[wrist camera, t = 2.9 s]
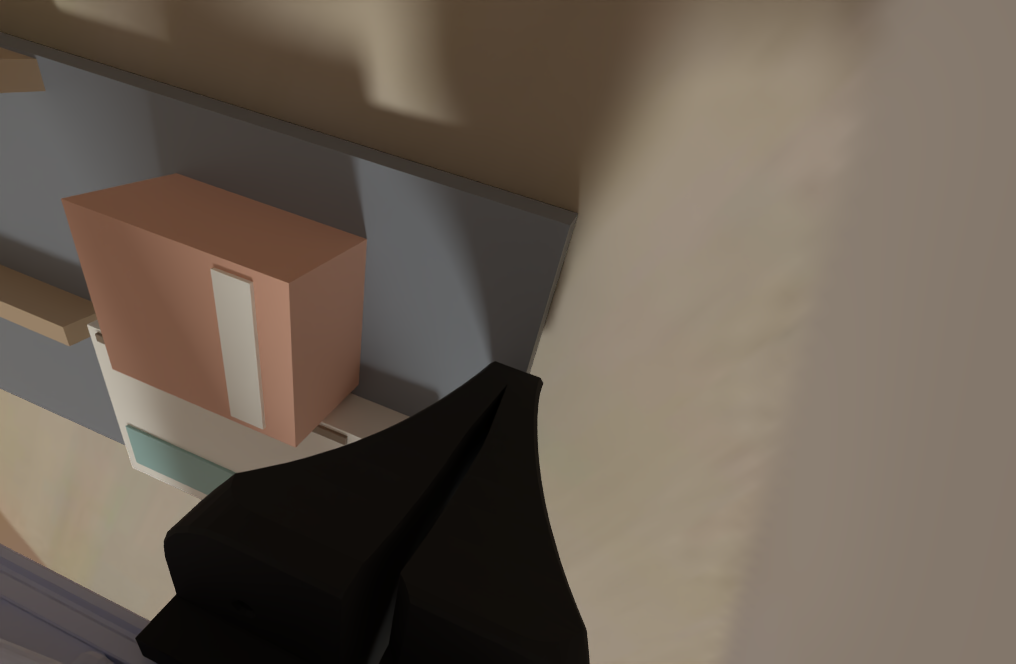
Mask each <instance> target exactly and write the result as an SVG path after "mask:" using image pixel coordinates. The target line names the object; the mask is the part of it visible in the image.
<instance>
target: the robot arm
mask: <svg viewBox="0 0 1016 664" xmlns="http://www.w3.org/2000/svg"><path fill="white" fill-rule="evenodd" d="M542 385H543V382H542V380H541V378H539V377H537V376H534V375H531V374H529V373H526V372H523V371H521V370H518V369H515V368H513V367H510V366H507V365H505V364H502V363H499V362H496V361H494V362H492V363H490V364H489V365H488V366H486V367H485V368H484V369H483V370H481V371H480V372H479V373H478V374H476V375H475V376H474V377H472V378H471V379H470V380H468V381H467V382H466V383H464V384H463V385H461V386H460V387H458V388H457V389H455V390H454V391H452V392H451V393H449V394H448V395H446V396H445V397H443V398H442V399H440V400H439V401H437V402H435V403H434V404H432V405H430V406H428V407H427V408H425V409H423V410H421V411H420V412H418V413H416V414H415V415H413V416H411V417H409V418H407V419H405V420H403V421H401V422H399V423H397V424H395V425H393V426H391V427H388V428H386V429H384V430H382V431H380V432H377V433H375V434H373V435H370V436H368V437H365V438H363V439H360V440H358V441H355V442H353V443H350V444H347V445H344V446H341V447H339V448H336V449H332V450H329V451H326V452H322V453H319V454H316V455H313V456H309V457H306V458H303V459H299V460H295V461H291V462H287V463H283V464H278V465H273V466H268V467H264V468H259V469H254V470H250V471H245V472H239V473H235V474H234V475H232V476H231V477H230V478H229V479H228V480H226V481H225V482H223V483H222V484H221V485H219V486H218V487H217V488H215V489H214V490H213V491H212V492H211V493H210V494H208V495H207V496H206V497H205V498H204V499H203V500H202V501H201V502H199V503H198V504H197V505H196V506H195V507H194V508H193V509H192V510H191V511H190V512H189V513H188V514H186V515H185V516H184V517H183V518H182V519H181V520H180V521H179V522H178V523H177V524H176V525H174V526H173V527H172V528H171V529H170V530H169V531H168V532H167V534H166V537H165V539H164V552H165V558H166V561H167V565H168V568H169V571H170V574H171V577H172V581H173V584H174V587H175V590H176V595H175V596H174V597H173V598H172V600H171V601H170V602H169V603H168V604H167V605H166V606H165V607H164V608H163V609H162V610H161V611H160V612H159V613H158V614H157V615H156V616H155V617H154V619H153V620H152V621H149V620H147V619H145V618H143V617H141V616H139V615H137V614H135V613H134V612H132V611H130V610H128V609H126V608H124V607H122V606H120V605H118V604H116V603H114V602H112V601H110V600H108V599H106V598H104V597H103V596H101V595H99V594H97V593H95V592H93V591H91V590H89V589H87V588H85V587H83V586H81V585H79V584H77V583H75V582H74V581H72V580H70V579H68V578H66V577H64V576H62V575H60V574H58V573H56V572H54V571H52V570H50V569H48V568H46V567H44V566H43V565H41V564H39V563H37V562H35V561H33V560H31V559H29V558H27V557H25V556H23V555H21V554H19V553H17V552H15V551H13V550H11V549H10V548H8V547H6V546H4V545H2V544H0V664H590V663H589V649H588V639H587V630H586V627H585V625H584V622H583V620H582V618H581V615H580V613H579V610H578V608H577V605H576V603H575V600H574V598H573V595H572V592H571V590H570V587H569V584H568V581H567V579H566V576H565V573H564V570H563V567H562V564H561V561H560V558H559V554H558V551H557V547H556V543H555V540H554V536H553V533H552V529H551V526H550V522H549V518H548V513H547V508H546V504H545V499H544V493H543V487H542V481H541V474H540V466H539V455H538V437H537V415H538V403H539V396H540V392H541V388H542Z"/></svg>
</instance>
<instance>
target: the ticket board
mask: <svg viewBox="0 0 1016 664" xmlns="http://www.w3.org/2000/svg"><path fill="white" fill-rule="evenodd" d="M175 173H177V174H180V175H183V176H186V177H189V178H192V179H195V180H198V181H200V182H203V183H206V184H209V185H212V186H215V187H218V188H221V189H224V190H226V191H229V192H232V193H235V194H238V195H241V196H244V197H247V198H250V199H252V200H255V201H258V202H261V203H264V204H267V205H270V206H273V207H276V208H278V209H281V210H284V211H287V212H290V213H293V214H296V215H299V216H302V217H304V218H307V219H310V220H313V221H316V222H319V223H322V224H325V225H328V226H331V227H333V228H336V229H339V230H342V231H345V232H348V233H351V234H354V235H357V236H359V237H362V238H365V239H367V248H366V266H365V283H364V301H363V319H362V337H361V355H360V372H359V385H358V386H357V387H356V388H355V389H354V390H353V391H352V392H351V393H350V394H349V395H348V396H347V397H346V398H345V399H344V400H343V401H342V402H341V403H340V404H339V405H338V406H337V407H336V408H335V409H334V410H333V411H332V412H331V413H330V414H329V415H328V416H327V417H326V418H325V419H324V420H323V421H322V422H321V423H320V424H319V425H318V426H317V427H316V428H315V429H314V430H313V431H312V432H311V433H310V434H309V435H308V436H307V437H306V438H305V439H304V440H303V441H302V442H301V443H300V444H299V445H298V446H297V447H296V448H295V447H293V446H291V445H288V444H286V443H284V442H281V441H279V440H277V439H274V438H272V437H270V436H267V435H265V434H263V433H260V432H258V431H256V430H253V429H251V428H249V427H246V426H244V425H241V424H239V423H237V422H234V421H232V420H230V419H227V418H225V417H223V416H220V415H218V414H216V413H213V412H211V411H209V410H206V409H204V408H202V407H199V406H197V405H195V404H192V403H190V402H188V401H185V400H183V399H181V398H178V397H176V396H174V395H171V394H169V393H167V392H164V391H162V390H160V389H157V388H155V387H153V386H150V385H148V384H146V383H143V382H141V381H139V380H136V379H134V378H132V377H129V376H127V375H125V374H122V373H120V372H118V371H115V370H113V369H112V366H111V363H110V360H109V356H108V353H107V350H106V346H105V343H104V340H103V337H102V333H101V330H100V327H99V323H98V320H97V317H96V313H95V310H94V307H93V303H92V300H91V297H90V293H89V290H88V287H87V284H86V280H85V277H84V274H83V270H82V267H81V264H80V260H79V257H78V254H77V250H76V247H75V244H74V241H73V237H72V234H71V231H70V227H69V224H68V221H67V217H66V214H65V211H64V207H63V204H62V201H61V198H66V197H70V196H75V195H79V194H84V193H89V192H93V191H98V190H102V189H107V188H111V187H116V186H120V185H125V184H130V183H134V182H139V181H143V180H148V179H152V178H157V177H161V176H166V175H171V174H175ZM577 216H578V213H575V212H572V211H568V210H565V209H562V208H559V207H556V206H552V205H549V204H546V203H543V202H540V201H537V200H533V199H530V198H527V197H524V196H521V195H518V194H514V193H511V192H508V191H505V190H502V189H498V188H495V187H492V186H489V185H486V184H483V183H479V182H476V181H473V180H470V179H467V178H463V177H460V176H457V175H454V174H451V173H448V172H444V171H441V170H438V169H435V168H432V167H428V166H425V165H422V164H419V163H416V162H413V161H409V160H406V159H403V158H400V157H397V156H393V155H390V154H387V153H384V152H381V151H378V150H374V149H371V148H368V147H365V146H362V145H358V144H355V143H352V142H349V141H346V140H343V139H339V138H336V137H333V136H330V135H327V134H323V133H320V132H317V131H314V130H311V129H308V128H304V127H301V126H298V125H295V124H292V123H288V122H285V121H282V120H279V119H276V118H273V117H269V116H266V115H263V114H260V113H257V112H253V111H250V110H247V109H244V108H241V107H238V106H234V105H231V104H228V103H225V102H222V101H218V100H215V99H212V98H209V97H206V96H203V95H199V94H196V93H193V92H190V91H187V90H183V89H180V88H177V87H174V86H171V85H168V84H164V83H161V82H158V81H155V80H152V79H148V78H145V77H142V76H139V75H136V74H133V73H129V72H126V71H123V70H120V69H117V68H113V67H110V66H107V65H104V64H101V63H98V62H94V61H91V60H88V59H85V58H82V57H78V56H75V55H72V54H69V53H66V52H63V51H59V50H56V49H53V48H50V47H47V46H43V45H40V44H37V43H34V42H31V41H28V40H24V39H21V38H18V37H15V36H12V35H8V34H5V33H2V32H0V389H3V390H5V391H7V392H9V393H11V394H14V395H16V396H18V397H20V398H22V399H25V400H27V401H29V402H31V403H33V404H36V405H38V406H40V407H42V408H44V409H47V410H49V411H51V412H53V413H55V414H58V415H60V416H62V417H64V418H66V419H69V420H71V421H73V422H75V423H77V424H80V425H82V426H84V427H86V428H88V429H91V430H93V431H95V432H97V433H99V434H102V435H104V436H106V437H108V438H110V439H113V440H115V441H117V442H119V443H121V444H123V445H125V446H126V449H127V452H128V455H129V458H130V462H131V465H132V468H134V469H136V470H138V471H141V472H143V473H145V474H147V475H149V476H151V477H154V478H156V479H158V480H160V481H162V482H164V483H166V484H169V485H171V486H173V487H175V488H177V489H179V490H182V491H184V492H186V493H188V494H190V495H192V496H195V497H197V498H199V499H201V500H203V499H204V498H205V497H206V496H207V495H208V494H210V493H211V492H212V491H213V490H214V489H215V488H217V487H218V486H219V485H221V484H222V483H223V482H225V481H226V480H228V479H229V478H230V477H231V476H232V475H234V474H235V473H239V472H245V471H250V470H254V469H259V468H264V467H268V466H273V465H278V464H283V463H287V462H291V461H295V460H299V459H303V458H306V457H309V456H313V455H316V454H319V453H322V452H326V451H329V450H332V449H336V448H339V447H341V446H344V445H347V444H350V443H353V442H355V441H358V440H360V439H363V438H365V437H368V436H370V435H373V434H375V433H377V432H380V431H382V430H384V429H386V428H388V427H391V426H393V425H395V424H397V423H399V422H401V421H403V420H405V419H407V418H409V417H411V416H413V415H415V414H416V413H418V412H420V411H421V410H423V409H425V408H427V407H428V406H430V405H432V404H434V403H435V402H437V401H439V400H440V399H442V398H443V397H445V396H446V395H448V394H449V393H451V392H452V391H454V390H455V389H457V388H458V387H460V386H461V385H463V384H464V383H466V382H467V381H468V380H470V379H471V378H472V377H474V376H475V375H476V374H478V373H479V372H480V371H481V370H483V369H484V368H485V367H486V366H488V365H489V364H490V363H492V362H494V361H496V362H499V363H502V364H505V365H507V366H510V367H513V368H515V369H518V370H521V371H523V372H526V373H529V374H530V370H531V367H532V364H533V361H534V357H535V354H536V351H537V347H538V344H539V341H540V338H541V334H542V331H543V328H544V324H545V321H546V318H547V315H548V311H549V308H550V305H551V301H552V298H553V295H554V292H555V288H556V285H557V282H558V278H559V275H560V272H561V269H562V265H563V262H564V259H565V255H566V252H567V249H568V246H569V242H570V239H571V236H572V232H573V229H574V226H575V223H576V219H577Z"/></svg>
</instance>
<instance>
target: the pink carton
mask: <svg viewBox="0 0 1016 664" xmlns="http://www.w3.org/2000/svg"><path fill="white" fill-rule="evenodd" d="M61 201H62V204H63V207H64V211H65V214H66V217H67V221H68V224H69V227H70V231H71V234H72V237H73V241H74V244H75V247H76V250H77V254H78V257H79V260H80V264H81V267H82V270H83V274H84V277H85V280H86V284H87V287H88V290H89V293H90V297H91V300H92V303H93V307H94V310H95V313H96V317H97V320H98V323H99V327H100V330H101V333H102V337H103V340H104V343H105V346H106V350H107V353H108V356H109V360H110V363H111V366H112V369H113V370H115V371H118V372H120V373H122V374H125V375H127V376H129V377H132V378H134V379H136V380H139V381H141V382H143V383H146V384H148V385H150V386H153V387H155V388H157V389H160V390H162V391H164V392H167V393H169V394H171V395H174V396H176V397H178V398H181V399H183V400H185V401H188V402H190V403H192V404H195V405H197V406H199V407H202V408H204V409H206V410H209V411H211V412H213V413H216V414H218V415H220V416H223V417H225V418H227V419H230V420H232V421H234V422H237V423H239V424H241V425H244V426H246V427H249V428H251V429H253V430H256V431H258V432H260V433H263V434H265V435H267V436H270V437H272V438H274V439H277V440H279V441H281V442H284V443H286V444H288V445H291V446H293V447H295V448H296V447H297V446H298V445H299V444H300V443H301V442H302V441H303V440H304V439H305V438H306V437H307V436H308V435H309V434H310V433H311V432H312V431H313V430H314V429H315V428H316V427H317V426H318V425H319V424H320V423H321V422H322V421H323V420H324V419H325V418H326V417H327V416H328V415H329V414H330V413H331V412H332V411H333V410H334V409H335V408H336V407H337V406H338V405H339V404H340V403H341V402H342V401H343V400H344V399H345V398H346V397H347V396H348V395H349V394H350V393H351V392H352V391H353V390H354V389H355V388H356V387H357V386H358V385H359V372H360V355H361V337H362V319H363V301H364V283H365V266H366V248H367V239H365V238H362V237H359V236H357V235H354V234H351V233H348V232H345V231H342V230H339V229H336V228H333V227H331V226H328V225H325V224H322V223H319V222H316V221H313V220H310V219H307V218H304V217H302V216H299V215H296V214H293V213H290V212H287V211H284V210H281V209H278V208H276V207H273V206H270V205H267V204H264V203H261V202H258V201H255V200H252V199H250V198H247V197H244V196H241V195H238V194H235V193H232V192H229V191H226V190H224V189H221V188H218V187H215V186H212V185H209V184H206V183H203V182H200V181H198V180H195V179H192V178H189V177H186V176H183V175H180V174H177V173H175V174H171V175H166V176H161V177H157V178H152V179H148V180H143V181H139V182H134V183H130V184H125V185H120V186H116V187H111V188H107V189H102V190H98V191H93V192H89V193H84V194H79V195H75V196H70V197H66V198H61Z"/></svg>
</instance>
